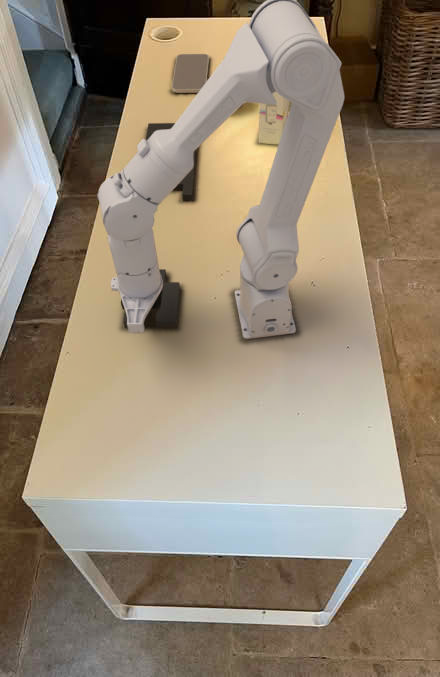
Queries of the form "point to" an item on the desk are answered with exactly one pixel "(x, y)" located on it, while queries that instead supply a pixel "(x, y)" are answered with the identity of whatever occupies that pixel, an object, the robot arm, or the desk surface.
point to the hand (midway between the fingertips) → (148, 323)
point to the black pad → (188, 180)
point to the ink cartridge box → (272, 120)
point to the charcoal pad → (166, 304)
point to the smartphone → (190, 73)
